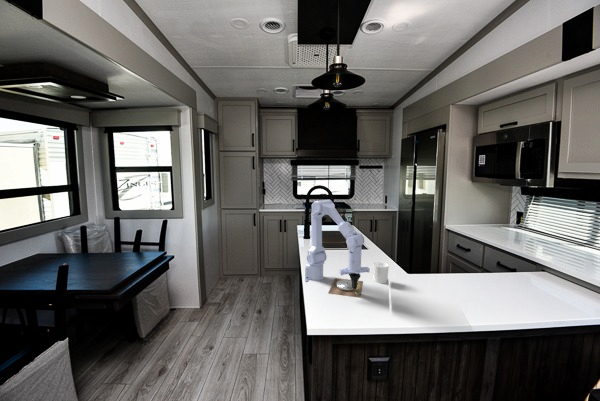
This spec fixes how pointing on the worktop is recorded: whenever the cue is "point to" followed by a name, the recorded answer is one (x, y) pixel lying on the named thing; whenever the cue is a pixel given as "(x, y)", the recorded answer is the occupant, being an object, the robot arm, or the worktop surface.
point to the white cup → (380, 272)
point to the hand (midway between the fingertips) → (354, 288)
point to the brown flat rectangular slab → (345, 293)
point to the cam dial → (347, 285)
